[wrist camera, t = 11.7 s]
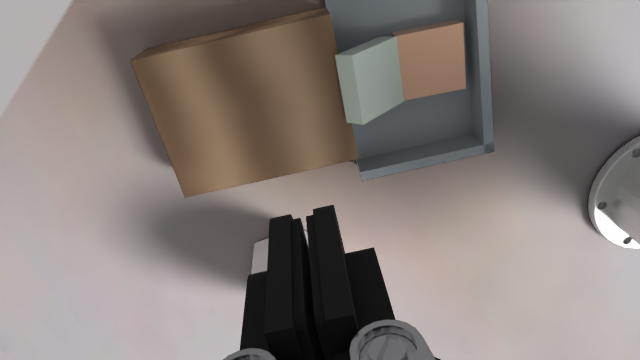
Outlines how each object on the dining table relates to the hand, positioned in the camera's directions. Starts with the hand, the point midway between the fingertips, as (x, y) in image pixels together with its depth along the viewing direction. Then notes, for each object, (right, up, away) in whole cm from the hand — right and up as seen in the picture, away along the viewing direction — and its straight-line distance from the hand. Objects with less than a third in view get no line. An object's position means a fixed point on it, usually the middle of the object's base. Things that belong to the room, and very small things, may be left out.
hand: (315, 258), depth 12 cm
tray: (+7, +11, +25) cm, 29 cm away
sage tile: (+3, +10, +23) cm, 25 cm away
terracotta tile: (+9, +11, +23) cm, 27 cm away
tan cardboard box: (-5, +9, +26) cm, 28 cm away
